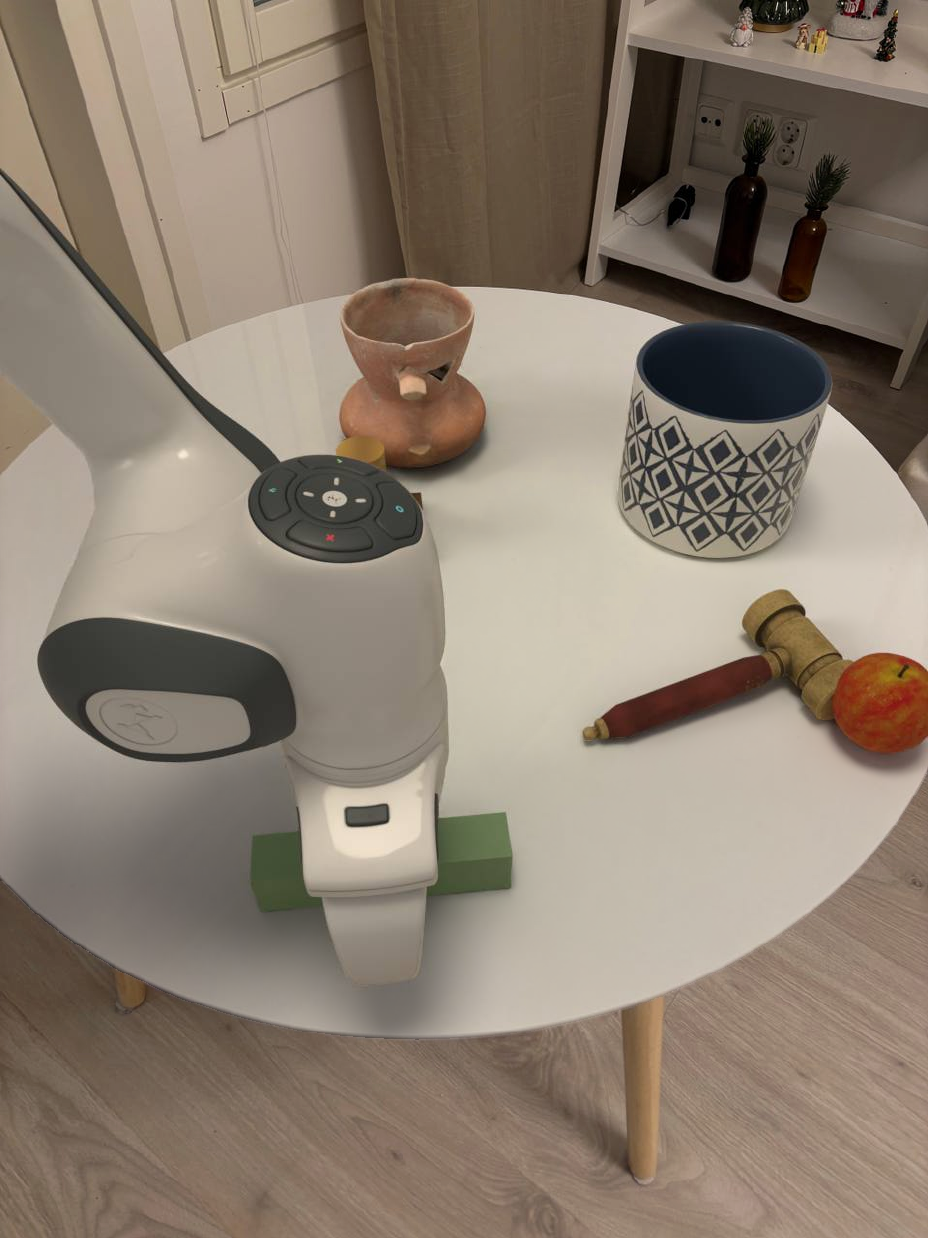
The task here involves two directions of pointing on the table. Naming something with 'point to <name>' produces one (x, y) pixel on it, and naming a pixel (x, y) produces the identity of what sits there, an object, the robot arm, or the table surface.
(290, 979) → the table surface
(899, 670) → the fruit
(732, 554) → the planter
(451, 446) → the ceramic jug
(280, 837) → the bar
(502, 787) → the table surface
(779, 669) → the gavel
